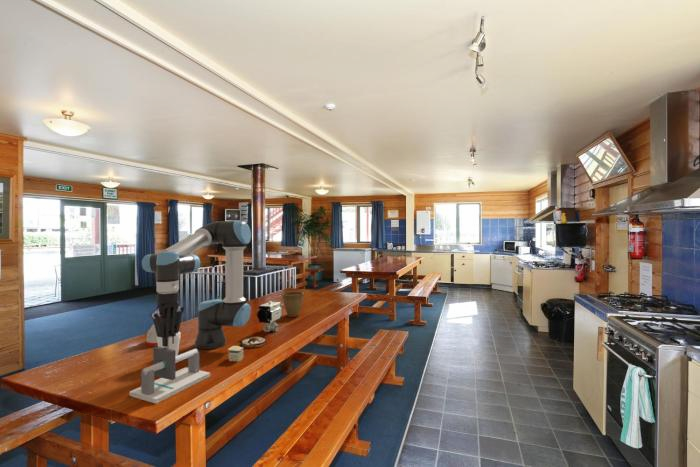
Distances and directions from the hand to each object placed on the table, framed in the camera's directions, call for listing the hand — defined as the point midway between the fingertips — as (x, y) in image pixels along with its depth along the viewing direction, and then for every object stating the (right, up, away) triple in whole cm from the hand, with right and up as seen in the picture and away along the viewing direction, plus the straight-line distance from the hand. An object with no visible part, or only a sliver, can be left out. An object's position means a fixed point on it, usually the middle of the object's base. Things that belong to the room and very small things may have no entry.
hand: (168, 353), depth 128 cm
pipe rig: (+1, -13, +2) cm, 13 cm away
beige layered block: (+16, -13, +28) cm, 35 cm away
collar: (-1, -8, -1) cm, 8 cm away
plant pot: (+29, -12, +109) cm, 114 cm away
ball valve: (+22, -13, +73) cm, 77 cm away
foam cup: (-12, -13, +24) cm, 30 cm away
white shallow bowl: (+18, -13, +50) cm, 55 cm away
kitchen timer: (-32, -13, +53) cm, 64 cm away
